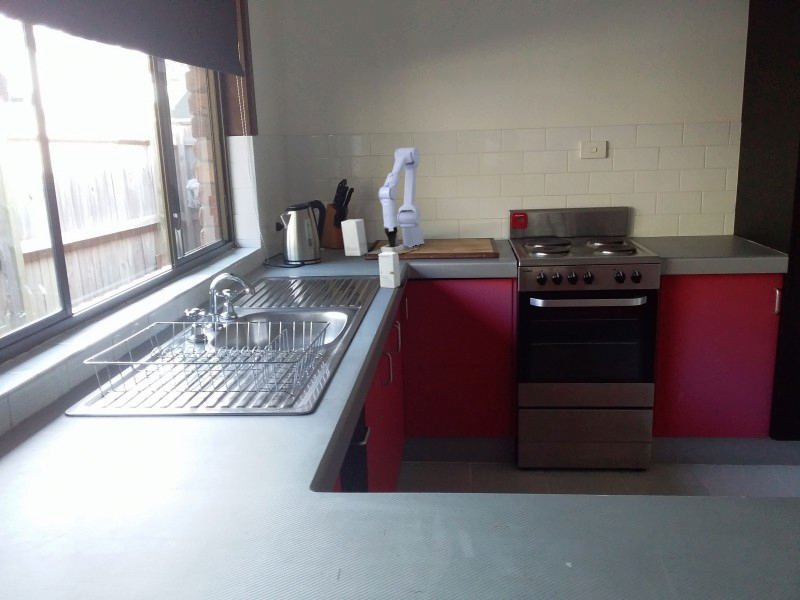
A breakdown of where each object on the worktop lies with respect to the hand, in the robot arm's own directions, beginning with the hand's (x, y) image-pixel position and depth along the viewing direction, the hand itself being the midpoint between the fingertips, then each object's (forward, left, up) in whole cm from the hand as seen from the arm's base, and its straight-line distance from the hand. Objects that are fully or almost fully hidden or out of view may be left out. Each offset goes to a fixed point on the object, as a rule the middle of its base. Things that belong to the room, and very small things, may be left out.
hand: (392, 245), depth 305 cm
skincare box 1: (+8, -15, -4) cm, 17 cm away
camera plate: (-1, -1, -4) cm, 4 cm away
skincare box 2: (+47, +41, -4) cm, 62 cm away
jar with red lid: (0, 0, -2) cm, 2 cm away
